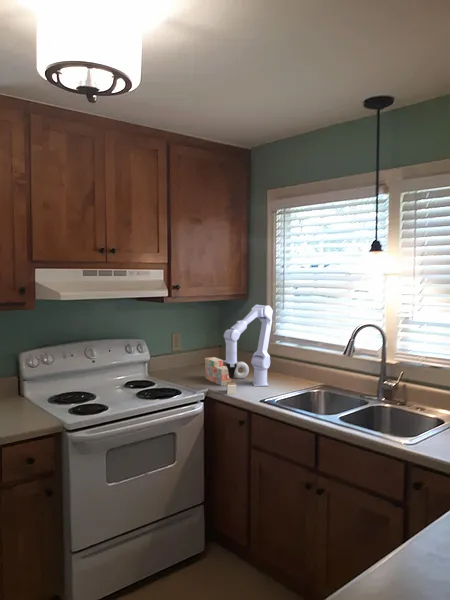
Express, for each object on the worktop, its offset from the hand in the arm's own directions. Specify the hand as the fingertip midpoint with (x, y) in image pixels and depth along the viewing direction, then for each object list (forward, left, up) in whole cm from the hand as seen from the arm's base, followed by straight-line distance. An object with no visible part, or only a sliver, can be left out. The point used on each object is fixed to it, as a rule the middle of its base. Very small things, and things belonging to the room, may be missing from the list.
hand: (231, 377), depth 268 cm
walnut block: (-1, 0, -5) cm, 5 cm away
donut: (-28, +7, -7) cm, 30 cm away
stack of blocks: (-22, -7, -7) cm, 24 cm away
